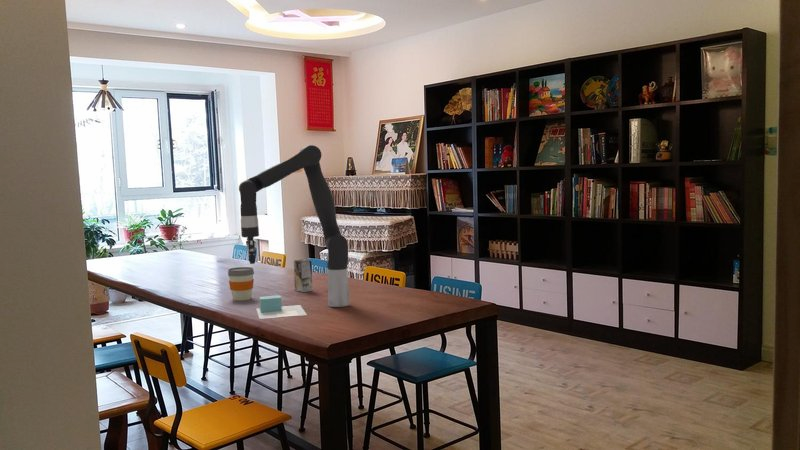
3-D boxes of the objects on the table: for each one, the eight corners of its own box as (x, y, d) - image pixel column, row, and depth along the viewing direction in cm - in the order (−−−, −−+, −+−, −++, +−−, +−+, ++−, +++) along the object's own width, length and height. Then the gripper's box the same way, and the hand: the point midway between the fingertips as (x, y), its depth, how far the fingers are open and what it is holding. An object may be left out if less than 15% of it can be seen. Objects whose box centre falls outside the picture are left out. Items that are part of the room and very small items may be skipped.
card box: (280, 308, 277) (279, 295, 276) (281, 311, 271) (281, 297, 270) (260, 310, 274) (259, 296, 274) (261, 312, 268) (260, 299, 268)
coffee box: (313, 290, 322) (312, 260, 320) (302, 292, 318) (301, 261, 317) (304, 288, 329) (303, 259, 328) (294, 290, 325) (293, 260, 324)
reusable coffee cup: (248, 301, 297) (246, 270, 296) (224, 300, 300) (223, 270, 299) (259, 296, 309) (258, 267, 308) (236, 296, 312) (235, 266, 311)
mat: (300, 306, 283) (300, 304, 283) (307, 316, 262) (307, 314, 262) (256, 309, 277) (256, 308, 277) (259, 320, 256) (259, 318, 256)
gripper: (259, 226, 263) (261, 263, 264) (257, 224, 276) (259, 259, 278) (241, 227, 260) (243, 265, 262) (240, 225, 274) (242, 261, 275)
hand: (251, 262), depth 270 cm, fingers open, 8 cm apart
